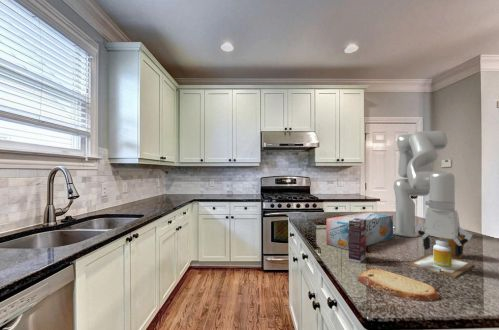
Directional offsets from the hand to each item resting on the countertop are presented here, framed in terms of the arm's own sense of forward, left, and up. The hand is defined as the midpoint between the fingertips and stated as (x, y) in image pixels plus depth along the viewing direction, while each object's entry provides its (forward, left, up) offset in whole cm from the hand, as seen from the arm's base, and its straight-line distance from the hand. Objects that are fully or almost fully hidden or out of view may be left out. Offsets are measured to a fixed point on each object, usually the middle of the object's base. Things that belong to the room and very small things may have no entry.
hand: (442, 252), depth 96 cm
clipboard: (-2, +4, -6) cm, 7 cm away
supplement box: (-24, -16, -6) cm, 30 cm away
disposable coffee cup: (-3, +20, -6) cm, 21 cm away
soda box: (-38, +10, -7) cm, 40 cm away
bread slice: (-3, -30, -7) cm, 31 cm away
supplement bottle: (0, 0, -5) cm, 5 cm away
